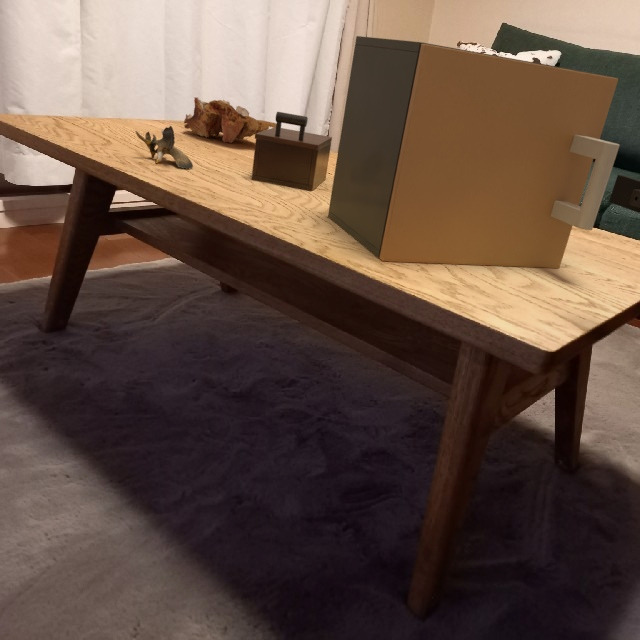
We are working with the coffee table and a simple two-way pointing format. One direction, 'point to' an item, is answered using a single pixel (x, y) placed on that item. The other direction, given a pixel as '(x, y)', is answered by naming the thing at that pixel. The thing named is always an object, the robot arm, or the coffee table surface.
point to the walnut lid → (293, 133)
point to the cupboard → (374, 135)
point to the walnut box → (290, 164)
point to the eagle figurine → (166, 147)
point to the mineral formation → (223, 121)
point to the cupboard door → (497, 161)
